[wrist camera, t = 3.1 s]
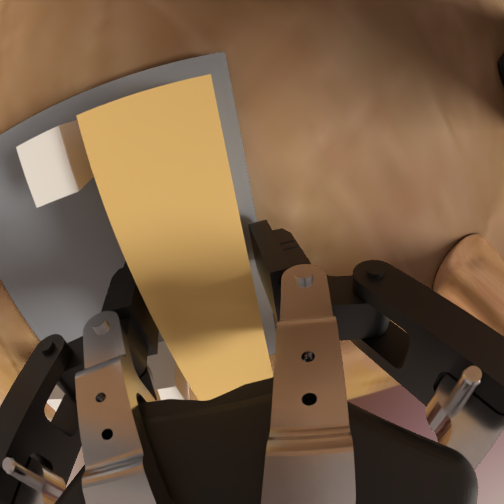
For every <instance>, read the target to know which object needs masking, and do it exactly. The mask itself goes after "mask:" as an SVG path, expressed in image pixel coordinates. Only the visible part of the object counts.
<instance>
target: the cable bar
mask: <svg viewBox="0 0 504 504" xmlns="http://www.w3.org/2000/svg"><path fill="white" fill-rule="evenodd" d="M76 116H77V120H78V124H79V128H80V132H81V135H82V139H83V142H84V146H85V149H86V153H87V156H88V159H89V162H90V166H91V169H92V172H93V175H94V178H95V181H96V184H97V187H98V190H99V193H100V196H101V199H102V201H103V204H104V207H105V210H106V212H107V215H108V218H109V220H110V223H111V226H112V228H113V231H114V233H115V236H116V238H117V241H118V243H119V246H120V248H121V250H122V253H123V255H124V258H125V260H126V262H127V265H128V267H129V269H130V271H131V274H132V276H133V278H134V280H135V282H136V285H137V287H138V289H139V291H140V293H141V295H142V298H143V300H144V302H145V304H146V306H147V308H148V310H149V312H150V314H151V316H152V318H153V320H154V322H155V324H156V326H157V328H158V330H159V332H160V334H161V336H162V337H163V339H164V341H165V343H166V345H167V347H168V349H169V351H170V352H171V354H172V356H173V358H174V360H175V361H176V363H177V365H178V367H179V368H180V370H181V372H182V374H183V375H184V377H185V379H186V380H187V382H188V384H189V386H190V387H191V389H192V391H193V392H194V394H195V395H196V397H197V399H198V400H199V401H207V400H211V399H214V398H216V397H218V396H220V395H223V394H225V393H227V392H229V391H232V390H234V389H236V388H238V387H240V386H242V385H245V384H248V383H252V382H257V381H261V380H264V379H268V378H272V377H273V373H272V368H271V363H270V359H269V354H268V349H267V344H266V340H265V335H264V330H263V325H262V321H261V316H260V311H259V306H258V302H257V297H256V292H255V287H254V283H253V278H252V273H251V268H250V263H249V259H248V254H247V249H246V244H245V239H244V235H243V230H242V225H241V220H240V215H239V210H238V206H237V201H236V196H235V191H234V186H233V181H232V176H231V171H230V167H229V162H228V157H227V152H226V147H225V142H224V137H223V132H222V127H221V122H220V117H219V112H218V107H217V103H216V98H215V93H214V88H213V83H212V78H211V74H209V75H204V76H199V77H195V78H190V79H186V80H182V81H178V82H174V83H170V84H166V85H163V86H159V87H155V88H152V89H149V90H145V91H142V92H139V93H136V94H132V95H129V96H126V97H123V98H120V99H118V100H115V101H112V102H109V103H106V104H104V105H101V106H98V107H96V108H93V109H91V110H88V111H86V112H83V113H81V114H78V115H76Z"/></svg>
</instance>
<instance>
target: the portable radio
mask: <svg viewBox="0 0 504 504" xmlns="http://www.w3.org/2000/svg"><path fill="white" fill-rule="evenodd" d="M499 67H500V72H501V77H502V80H503V83H504V54H503V56H502V57H501V59H500V60H499Z"/></svg>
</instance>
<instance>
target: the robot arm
mask: <svg viewBox="0 0 504 504" xmlns="http://www.w3.org/2000/svg"><path fill="white" fill-rule="evenodd" d="M248 227H249V233H250V238H251V243H252V248H253V253H254V258H255V263H256V267H257V270H258V273H259V276H260V278H261V281H262V284H263V287H264V289H265V292H266V295H267V297H268V300H269V303H270V305H271V308H272V311H273V314H274V316H275V319H276V322H277V326H276V345H275V363H274V377H272V378H268V379H264V380H261V381H257V382H252V383H248V384H245V385H242V386H240V387H238V388H236V389H234V390H232V391H229V392H227V393H225V394H223V395H220V396H218V397H216V398H214V399H211V400H207V401H197V400H180V399H166V400H161V399H160V396H159V393H158V390H157V387H156V384H155V381H154V378H153V375H152V372H151V369H150V367H149V365H148V364H147V356H151V355H156V354H158V336H159V330H158V328H157V326H156V324H155V322H154V320H153V318H152V316H151V314H150V312H149V310H148V308H147V306H146V304H145V302H144V300H143V298H142V295H141V293H140V291H139V289H138V287H137V285H136V282H135V280H134V278H133V276H132V274H131V271H130V269H129V267H128V265H127V262H126V260H125V264H124V267H123V268H120V269H118V271H117V272H116V273H115V274H114V275H113V277H112V279H111V282H110V285H109V286H110V287H109V288H108V291H107V294H106V297H105V301H104V304H103V307H102V310H101V312H100V313H98V314H96V315H94V316H93V317H92V318H90V319H89V320H88V322H87V323H86V324H85V326H84V329H83V336H81V337H79V338H77V339H75V340H73V341H71V342H68V343H67V342H66V341H65V340H64V338H63V337H62V336H61V335H59V334H53V335H50V336H48V337H46V338H44V339H43V340H42V341H41V342H40V343H39V344H38V345H37V347H36V348H35V350H34V351H33V353H32V354H31V356H30V357H29V359H28V361H27V362H26V364H25V365H24V367H23V369H22V370H21V372H20V373H19V375H18V377H17V378H16V380H15V382H14V383H13V385H12V387H11V389H10V390H9V392H8V394H7V396H6V397H5V399H4V401H3V403H2V405H1V406H0V504H477V495H478V483H477V477H476V473H475V471H474V470H475V469H476V467H477V466H478V465H479V464H480V462H481V461H482V460H483V458H484V457H485V456H486V454H487V453H488V452H489V450H490V449H491V448H492V446H493V445H494V443H495V442H496V440H497V439H498V437H499V436H500V434H501V433H502V431H503V430H504V336H502V335H501V334H499V333H498V332H496V331H495V330H494V329H492V328H491V327H489V326H488V325H486V324H485V323H483V322H482V321H480V320H479V319H477V318H476V317H474V316H473V315H471V314H469V313H468V312H466V311H465V310H463V309H462V308H460V307H459V306H457V305H456V304H454V303H452V302H451V301H449V300H448V299H446V298H444V297H443V296H441V295H440V294H438V293H436V292H435V291H433V290H432V289H430V288H428V287H427V286H425V285H423V284H422V283H420V282H419V281H417V280H415V279H414V278H412V277H410V276H409V275H407V274H405V273H403V272H402V271H400V270H398V269H397V268H395V267H393V266H392V265H390V264H388V263H386V262H383V261H378V260H369V261H364V262H362V263H360V264H358V265H357V266H356V267H355V268H354V270H353V276H328V275H326V272H325V271H324V270H323V269H322V268H321V267H319V266H316V265H312V264H311V263H310V261H309V260H308V258H307V257H306V255H305V254H304V252H303V251H302V249H301V248H300V247H299V245H298V243H297V242H296V241H295V239H294V237H293V236H292V234H291V233H290V232H288V231H286V230H284V229H278V230H274V231H272V229H271V227H270V225H269V224H268V222H267V220H263V221H259V222H255V223H250V224H248ZM390 320H392V321H393V322H394V323H396V324H397V325H398V326H400V327H401V328H403V329H404V330H405V331H406V332H407V333H406V332H405V331H403V330H402V329H401V328H399V327H398V326H397V325H395V324H394V323H392V322H391V321H390ZM340 340H351V341H352V342H353V343H354V344H355V345H356V346H357V347H358V348H359V349H360V350H361V351H363V352H364V353H365V354H366V355H367V356H368V357H370V358H371V359H372V360H373V361H374V362H375V363H377V364H378V365H379V366H380V367H381V368H382V369H383V370H385V371H386V372H387V373H388V374H389V375H390V376H392V377H393V378H394V379H395V380H396V381H397V382H399V383H400V384H401V385H402V386H403V387H405V388H406V389H407V390H408V391H409V392H410V393H411V394H413V395H414V396H415V397H416V398H417V399H418V400H419V401H421V402H422V403H423V404H424V405H425V406H426V407H427V408H426V419H427V422H428V424H429V425H430V427H431V430H432V431H433V432H435V434H436V436H437V441H438V442H435V441H433V440H430V439H428V438H426V437H423V436H421V435H418V434H416V433H414V432H411V431H409V430H407V429H405V428H402V427H400V426H398V425H396V424H394V423H391V422H389V421H386V420H385V419H383V418H381V417H378V416H376V415H374V414H372V413H370V412H368V411H366V410H364V409H362V408H360V407H358V406H356V405H354V404H352V403H350V402H348V401H347V396H346V387H345V378H344V370H343V362H342V354H341V347H340ZM56 385H57V386H58V387H59V388H60V389H61V390H62V391H63V392H64V393H65V395H64V397H63V399H62V401H61V403H60V405H59V407H58V409H57V411H56V413H55V415H54V417H53V419H52V421H51V422H50V421H49V420H48V419H47V418H46V416H45V413H44V408H45V405H46V403H47V401H48V399H49V397H50V395H51V393H52V391H53V389H54V388H55V386H56ZM81 446H82V450H83V456H84V462H85V465H84V466H83V467H82V469H81V470H80V471H79V473H78V474H77V475H76V476H75V478H74V479H73V480H72V481H71V483H70V484H69V485H68V487H67V488H66V485H67V482H68V479H69V476H70V474H71V471H72V468H73V466H74V463H75V461H76V458H77V455H78V453H79V451H80V448H81Z"/></svg>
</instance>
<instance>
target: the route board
mask: <svg viewBox="0 0 504 504" xmlns="http://www.w3.org/2000/svg"><path fill="white" fill-rule="evenodd" d="M209 74H211V78H212V83H213V88H214V93H215V98H216V103H217V107H218V112H219V117H220V122H221V127H222V132H223V137H224V142H225V147H226V152H227V157H228V162H229V167H230V171H231V176H232V181H233V186H234V191H235V196H236V201H237V206H238V210H239V215H240V220H241V225H242V230H243V235H244V239H245V244H246V249H247V254H248V259H249V263H250V268H251V273H252V278H253V283H254V287H255V292H256V297H257V302H258V306H259V311H260V316H261V321H262V325H263V330H264V335H265V340H266V344H267V349H268V354H269V355H273V354H275V345H276V329H275V323H274V317H273V311H272V308H271V305H270V303H269V300H268V297H267V295H266V292H265V289H264V287H263V284H262V281H261V278H260V276H259V273H258V270H257V267H256V263H255V258H254V253H253V248H252V243H251V238H250V233H249V227H248V224H250V223H255V222H257V220H256V215H255V209H254V203H253V198H252V192H251V187H250V181H249V176H248V171H247V165H246V160H245V154H244V149H243V144H242V138H241V133H240V128H239V122H238V117H237V112H236V106H235V101H234V96H233V91H232V86H231V80H230V75H229V70H228V65H227V60H226V55H225V52H219V53H214V54H208V55H203V56H199V57H194V58H189V59H185V60H181V61H177V62H173V63H169V64H165V65H161V66H158V67H154V68H151V69H147V70H144V71H141V72H137V73H134V74H131V75H128V76H125V77H122V78H119V79H116V80H113V81H111V82H108V83H105V84H103V85H100V86H97V87H95V88H92V89H90V90H87V91H85V92H83V93H80V94H78V95H76V96H73V97H71V98H69V99H67V100H64V101H62V102H60V103H58V104H56V105H54V106H52V107H50V108H48V109H46V110H44V111H42V112H40V113H38V114H36V115H34V116H32V117H30V118H28V119H27V120H25V121H23V122H21V123H19V124H18V125H16V126H14V127H12V128H11V129H9V130H7V131H6V132H4V133H2V134H1V135H0V280H1V282H2V283H3V285H4V287H5V288H6V290H7V292H8V293H9V295H10V297H11V298H12V300H13V302H14V303H15V305H16V306H17V308H18V309H19V311H20V313H21V314H22V316H23V317H24V319H25V320H26V321H27V323H28V324H29V326H30V327H31V329H32V330H33V331H34V333H35V334H36V336H37V337H38V338H39V340H40V341H42V340H43V339H44V338H46V337H48V336H50V335H53V334H59V335H61V336H62V337H63V338H64V340H65V341H66V342H67V343H68V342H71V341H73V340H75V339H77V338H79V337H81V336H83V329H84V326H85V324H86V323H87V322H88V320H89V319H90V318H92V317H93V316H94V315H96V314H98V313H100V312H101V310H102V307H103V304H104V301H105V297H106V294H107V291H108V288H109V287H110V286H109V285H110V282H111V279H112V277H113V275H114V274H115V273H116V272H117V271H118V269H120V268H123V267H124V264H125V258H124V255H123V253H122V250H121V248H120V246H119V243H118V241H117V238H116V236H115V233H114V231H113V228H112V226H111V223H110V220H109V218H108V215H107V212H106V210H105V207H104V204H103V201H102V199H101V196H100V193H99V190H98V187H97V184H96V181H95V178H94V175H93V172H92V169H91V166H90V162H89V159H88V156H87V153H86V149H85V146H84V142H83V139H82V135H81V132H80V128H79V124H78V120H77V116H76V115H78V114H81V113H83V112H86V111H88V110H91V109H93V108H96V107H98V106H101V105H104V104H106V103H109V102H112V101H115V100H118V99H120V98H123V97H126V96H129V95H132V94H136V93H139V92H142V91H145V90H149V89H152V88H155V87H159V86H163V85H166V84H170V83H174V82H178V81H182V80H186V79H190V78H195V77H199V76H204V75H209ZM147 364H148V365H149V367H150V369H151V372H152V375H153V378H154V381H155V384H156V387H157V390H158V393H159V396H160V399H161V400H166V399H180V400H189V385H188V382H187V380H186V379H185V377H184V375H183V374H182V372H181V370H180V368H179V367H178V365H177V363H176V361H175V360H174V358H173V356H172V354H171V352H170V351H169V349H168V347H167V345H166V343H165V341H164V339H163V337H162V336H161V334H160V332H159V336H158V354H156V355H151V356H147ZM64 395H65V393H64V392H63V391H62V390H61V389H60V388H59V387H58V386H57V385H56V386H55V388H54V389H53V391H52V393H51V395H50V397H49V399H48V401H47V403H48V404H49V405H50V406H51V407H52V408H53V409H54V410H55V411H57V409H58V407H59V405H60V403H61V401H62V399H63V397H64Z"/></svg>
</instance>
